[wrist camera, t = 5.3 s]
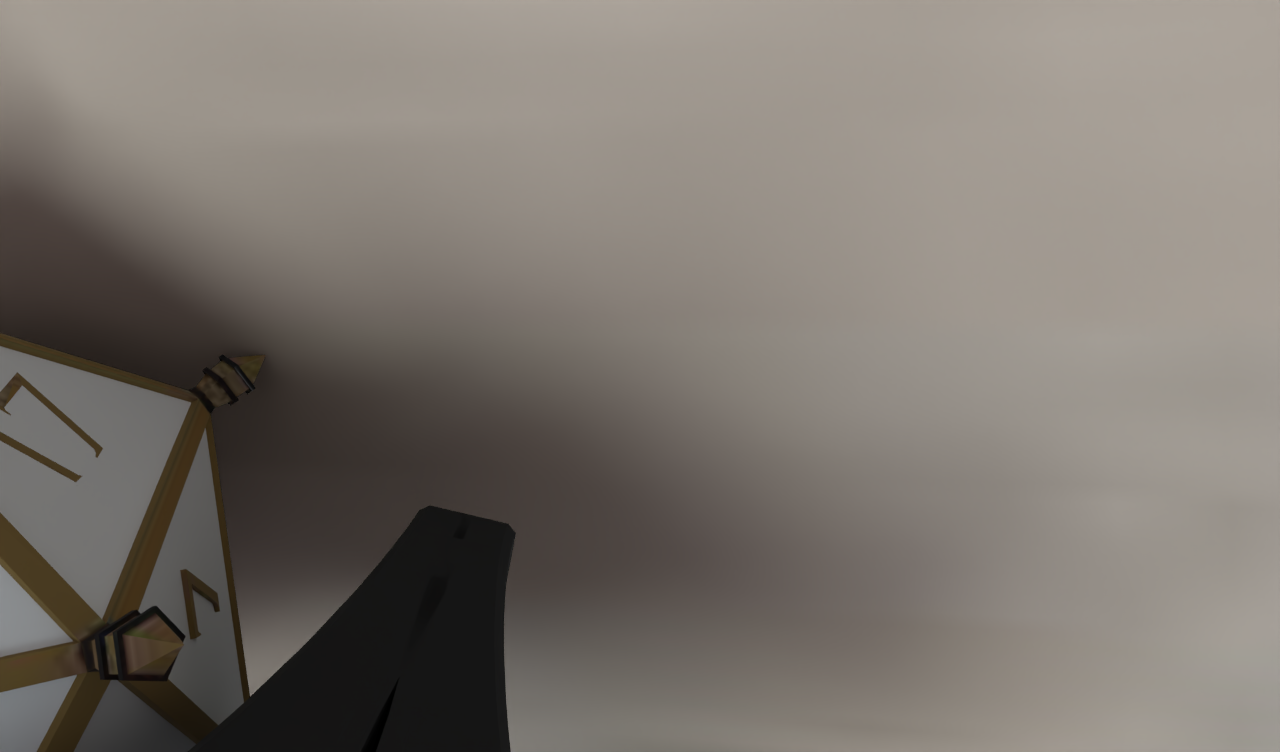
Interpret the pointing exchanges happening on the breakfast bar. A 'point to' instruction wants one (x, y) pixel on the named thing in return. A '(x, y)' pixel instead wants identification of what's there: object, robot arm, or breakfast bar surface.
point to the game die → (113, 556)
